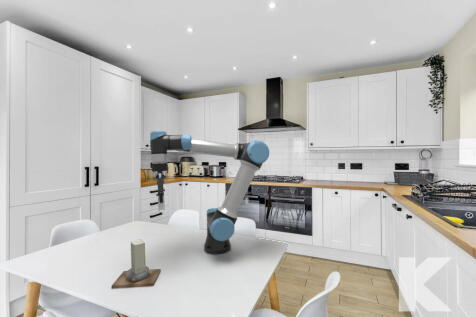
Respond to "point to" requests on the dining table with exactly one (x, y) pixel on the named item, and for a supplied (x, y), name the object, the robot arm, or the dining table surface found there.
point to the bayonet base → (137, 284)
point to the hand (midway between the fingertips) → (161, 207)
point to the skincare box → (138, 256)
